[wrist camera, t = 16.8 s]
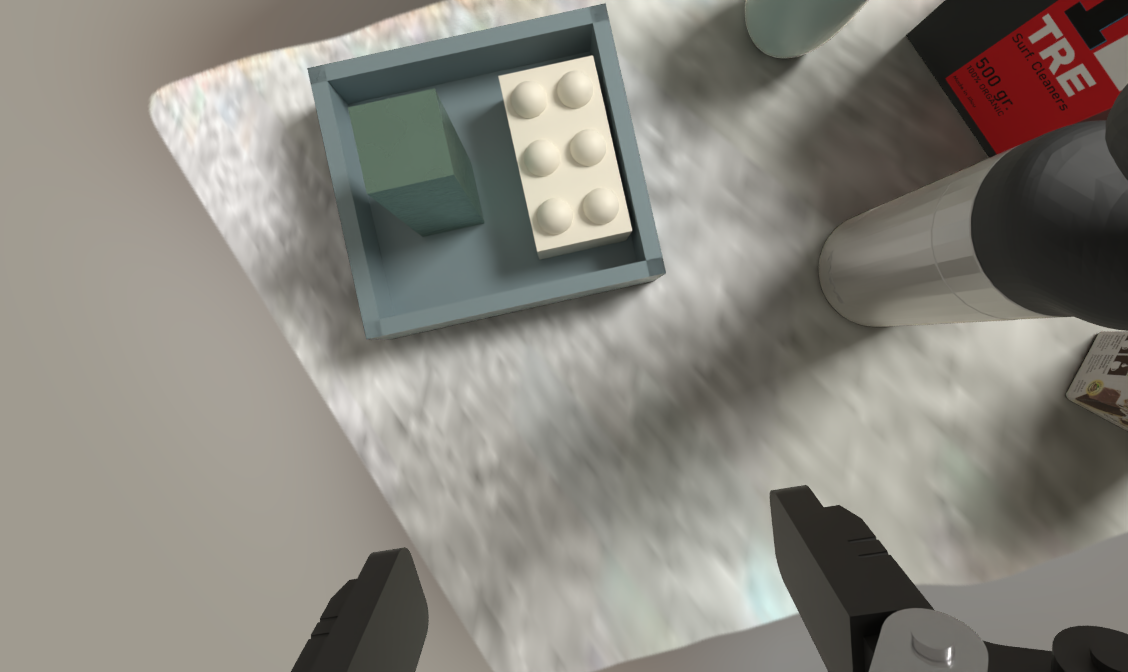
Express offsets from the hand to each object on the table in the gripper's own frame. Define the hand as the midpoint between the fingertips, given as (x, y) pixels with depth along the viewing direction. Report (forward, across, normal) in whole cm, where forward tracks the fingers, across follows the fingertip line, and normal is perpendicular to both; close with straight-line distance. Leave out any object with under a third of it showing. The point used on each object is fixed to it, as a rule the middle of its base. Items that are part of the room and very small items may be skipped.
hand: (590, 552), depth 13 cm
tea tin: (+36, +9, -7) cm, 38 cm away
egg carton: (+38, 0, -7) cm, 38 cm away
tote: (+37, +6, -7) cm, 38 cm away
